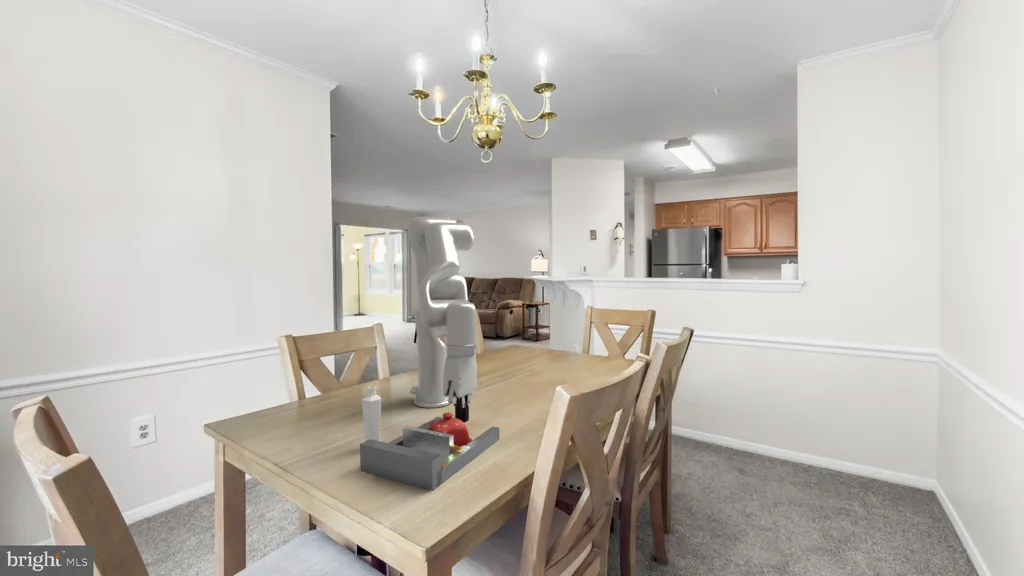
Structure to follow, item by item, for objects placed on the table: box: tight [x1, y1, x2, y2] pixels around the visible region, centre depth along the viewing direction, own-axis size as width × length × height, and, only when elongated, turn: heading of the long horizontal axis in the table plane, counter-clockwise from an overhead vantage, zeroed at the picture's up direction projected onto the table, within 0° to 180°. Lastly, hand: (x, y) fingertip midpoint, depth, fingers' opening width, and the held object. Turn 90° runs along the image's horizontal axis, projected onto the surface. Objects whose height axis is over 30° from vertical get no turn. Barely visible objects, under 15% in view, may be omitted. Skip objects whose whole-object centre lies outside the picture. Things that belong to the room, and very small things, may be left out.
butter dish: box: [428, 412, 473, 451], centre depth 108 cm, size 12×12×8 cm
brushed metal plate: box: [402, 425, 462, 460], centre depth 100 cm, size 16×2×6 cm, turn 64°
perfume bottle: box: [361, 385, 382, 441], centre depth 106 cm, size 5×4×15 cm
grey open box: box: [359, 416, 500, 492], centre depth 103 cm, size 19×28×6 cm, turn 154°
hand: (462, 420), depth 113 cm, fingers closed
